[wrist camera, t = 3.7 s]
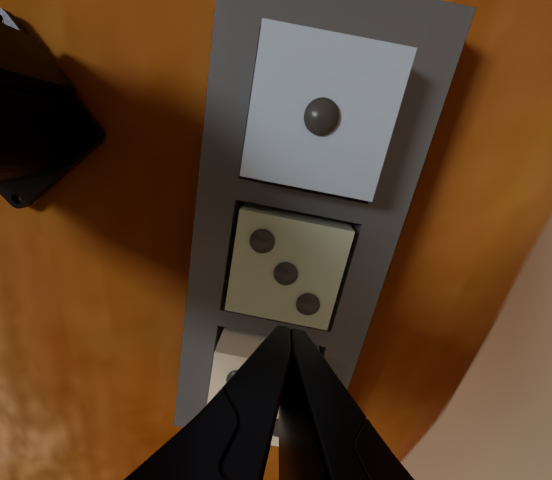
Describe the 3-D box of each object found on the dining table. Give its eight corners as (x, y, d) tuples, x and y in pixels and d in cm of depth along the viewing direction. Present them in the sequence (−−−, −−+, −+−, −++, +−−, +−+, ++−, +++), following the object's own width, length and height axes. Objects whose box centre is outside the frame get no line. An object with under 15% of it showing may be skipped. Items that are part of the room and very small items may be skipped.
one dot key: (358, 192, 13) (372, 202, 10) (249, 171, 13) (238, 176, 10) (393, 67, 11) (418, 46, 9) (268, 43, 11) (261, 16, 9)
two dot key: (298, 411, 17) (298, 452, 14) (215, 394, 17) (202, 433, 14) (318, 341, 15) (321, 374, 13) (226, 322, 15) (213, 353, 13)
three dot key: (322, 305, 16) (327, 331, 14) (234, 287, 16) (224, 311, 14) (346, 219, 14) (355, 232, 12) (248, 200, 14) (239, 209, 12)
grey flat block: (322, 424, 18) (325, 456, 17) (186, 396, 19) (173, 425, 17) (446, 30, 12) (476, 7, 10) (232, -11, 12) (219, -42, 10)
